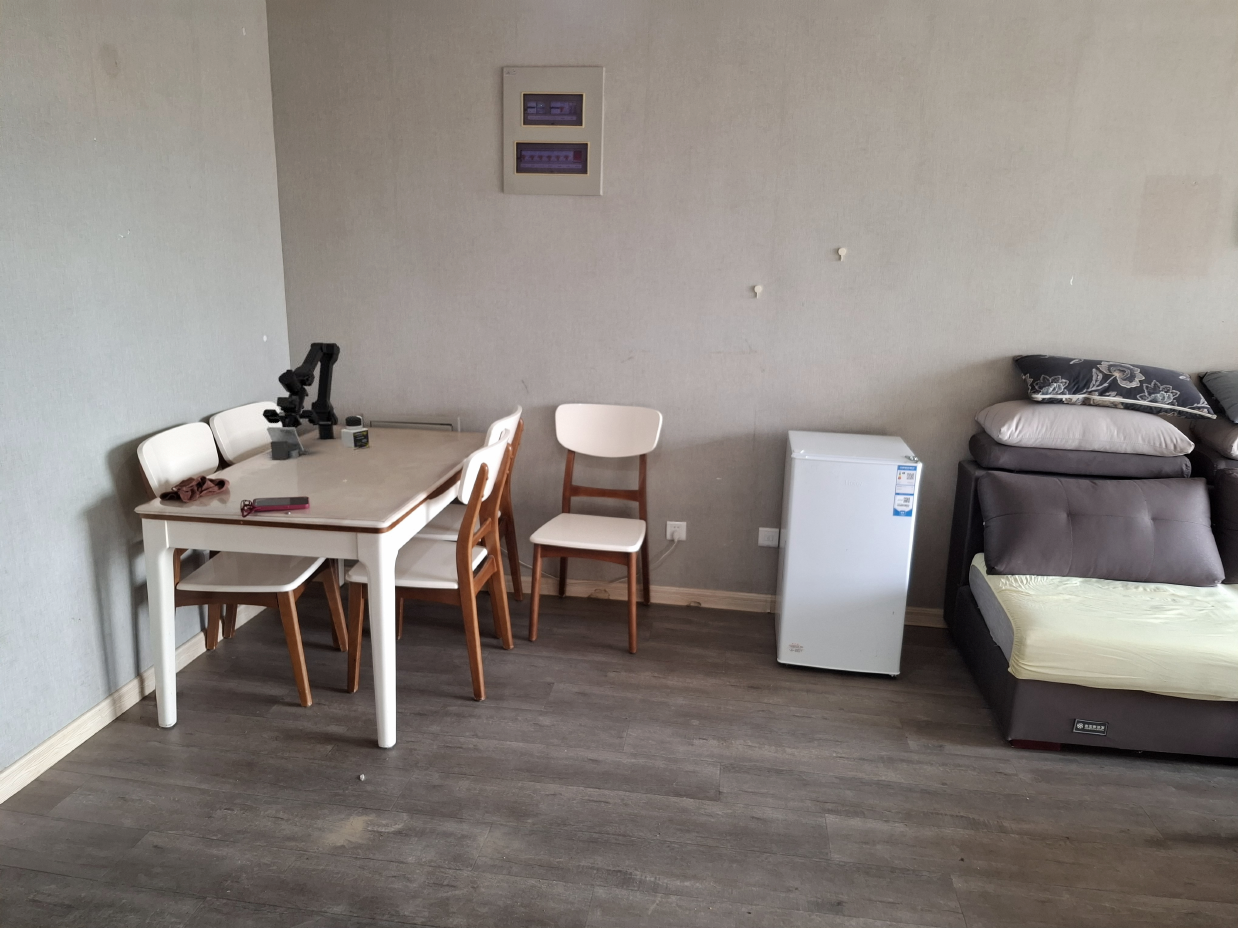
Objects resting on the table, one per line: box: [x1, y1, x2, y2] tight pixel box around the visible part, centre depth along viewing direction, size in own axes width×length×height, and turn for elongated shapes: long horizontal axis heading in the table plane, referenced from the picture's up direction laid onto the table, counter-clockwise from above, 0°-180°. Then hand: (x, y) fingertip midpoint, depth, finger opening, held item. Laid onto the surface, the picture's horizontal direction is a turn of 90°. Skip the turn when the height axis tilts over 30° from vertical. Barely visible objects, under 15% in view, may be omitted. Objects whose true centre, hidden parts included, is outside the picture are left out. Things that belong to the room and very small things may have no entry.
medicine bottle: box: [340, 415, 370, 451], centre depth 316 cm, size 7×7×12 cm
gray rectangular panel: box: [266, 426, 305, 455], centre depth 298 cm, size 12×10×1 cm
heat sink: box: [269, 440, 310, 461], centre depth 297 cm, size 10×13×7 cm
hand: (284, 436), depth 297 cm, fingers closed, pressing on gray rectangular panel
